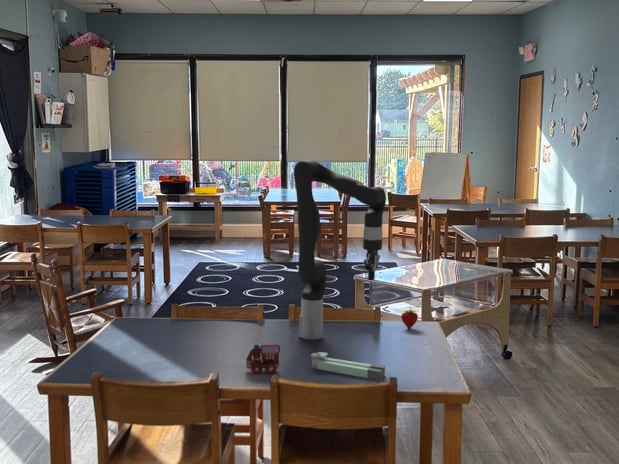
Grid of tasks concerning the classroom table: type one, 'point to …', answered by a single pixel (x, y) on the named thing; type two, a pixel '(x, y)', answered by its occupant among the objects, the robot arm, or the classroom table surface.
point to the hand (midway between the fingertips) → (371, 279)
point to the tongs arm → (348, 362)
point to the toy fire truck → (263, 359)
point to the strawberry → (409, 318)
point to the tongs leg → (347, 369)
